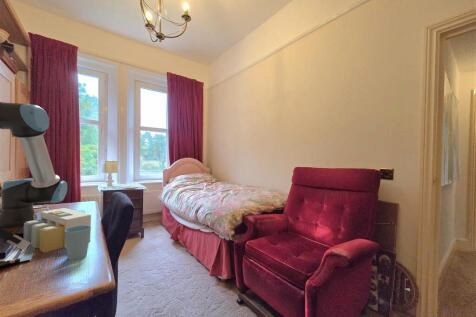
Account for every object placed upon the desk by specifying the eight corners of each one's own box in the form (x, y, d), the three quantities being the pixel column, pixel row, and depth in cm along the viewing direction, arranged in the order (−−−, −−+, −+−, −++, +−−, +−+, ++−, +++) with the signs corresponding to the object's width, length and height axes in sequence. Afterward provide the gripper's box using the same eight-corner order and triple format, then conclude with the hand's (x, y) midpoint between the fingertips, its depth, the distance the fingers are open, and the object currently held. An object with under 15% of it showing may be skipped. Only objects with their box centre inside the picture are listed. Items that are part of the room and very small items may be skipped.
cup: (71, 264, 74) (72, 233, 74) (59, 259, 77) (60, 229, 77) (94, 255, 81) (95, 227, 81) (82, 251, 84) (83, 224, 84)
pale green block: (35, 248, 85) (36, 226, 85) (31, 246, 87) (31, 224, 87) (60, 241, 92) (60, 221, 92) (55, 239, 94) (56, 220, 94)
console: (65, 248, 86) (66, 218, 86) (40, 237, 96) (40, 210, 96) (90, 241, 94) (91, 213, 94) (64, 232, 104) (64, 207, 104)
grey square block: (27, 244, 88) (28, 223, 88) (23, 242, 90) (24, 221, 90) (51, 238, 95) (52, 218, 95) (47, 236, 97) (48, 217, 97)
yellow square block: (44, 252, 81) (45, 230, 81) (39, 250, 83) (40, 228, 83) (69, 245, 88) (69, 224, 88) (64, 243, 90) (64, 223, 90)
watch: (56, 230, 106) (56, 207, 106) (33, 234, 100) (34, 210, 100) (53, 228, 110) (54, 206, 110) (31, 231, 103) (32, 208, 103)
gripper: (-69, 215, 64) (9, 252, 79) (-59, 223, 58) (23, 261, 73) (-40, 195, 69) (29, 233, 84) (-28, 200, 63) (44, 240, 77)
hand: (26, 246), depth 78 cm, fingers closed
